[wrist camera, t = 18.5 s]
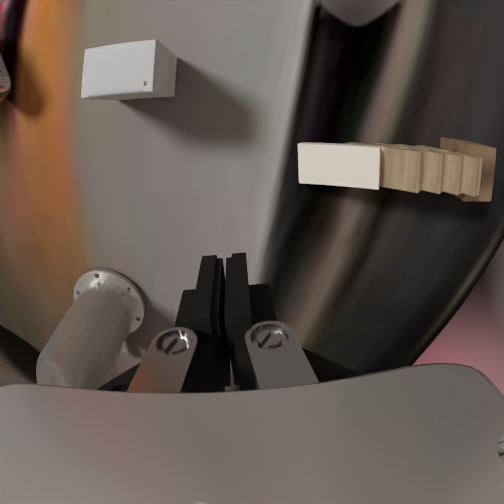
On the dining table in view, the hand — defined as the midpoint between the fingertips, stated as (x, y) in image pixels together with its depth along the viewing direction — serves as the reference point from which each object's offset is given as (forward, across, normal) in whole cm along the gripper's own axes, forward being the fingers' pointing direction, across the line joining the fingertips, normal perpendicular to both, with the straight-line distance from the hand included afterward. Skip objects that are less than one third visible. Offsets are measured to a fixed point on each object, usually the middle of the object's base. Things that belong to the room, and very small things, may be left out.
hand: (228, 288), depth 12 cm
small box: (+29, +10, -13) cm, 34 cm away
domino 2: (+28, -15, 0) cm, 32 cm away
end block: (+29, -34, 0) cm, 45 cm away
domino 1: (+28, -9, 0) cm, 30 cm away
